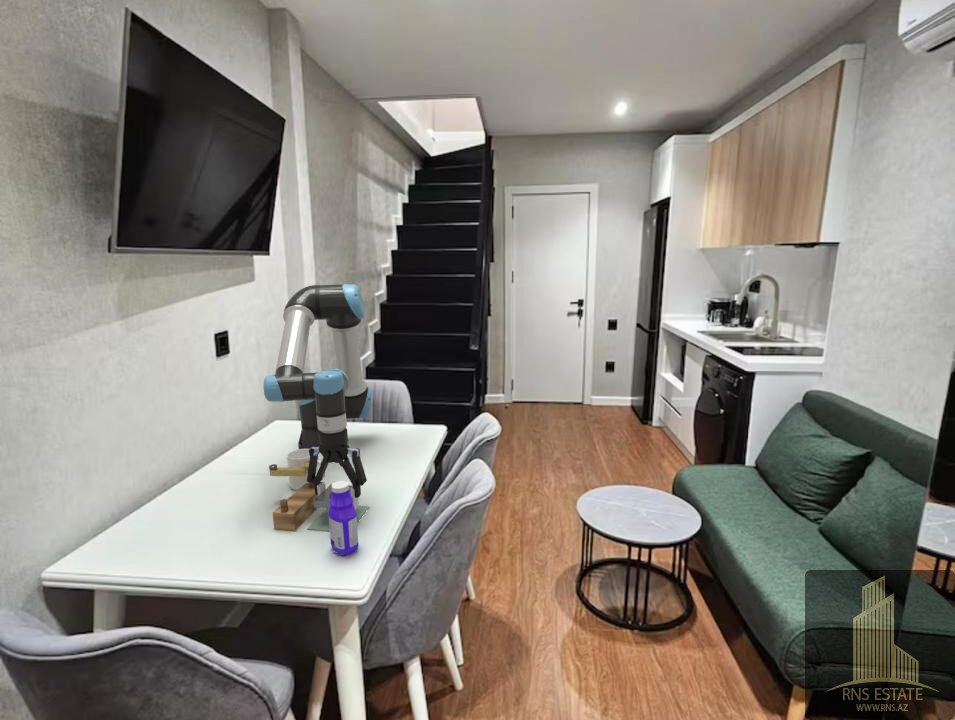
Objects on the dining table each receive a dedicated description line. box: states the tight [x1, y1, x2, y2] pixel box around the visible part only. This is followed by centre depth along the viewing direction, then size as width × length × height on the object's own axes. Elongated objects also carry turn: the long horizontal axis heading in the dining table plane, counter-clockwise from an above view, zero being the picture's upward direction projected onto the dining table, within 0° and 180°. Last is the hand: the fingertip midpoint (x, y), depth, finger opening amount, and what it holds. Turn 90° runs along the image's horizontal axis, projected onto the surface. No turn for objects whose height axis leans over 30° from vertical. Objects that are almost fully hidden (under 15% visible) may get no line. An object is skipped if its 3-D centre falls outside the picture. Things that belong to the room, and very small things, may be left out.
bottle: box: [328, 480, 359, 556], centre depth 122 cm, size 7×6×17 cm
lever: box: [268, 460, 310, 477], centre depth 147 cm, size 14×4×4 cm, turn 87°
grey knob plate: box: [314, 483, 362, 509], centre depth 137 cm, size 10×9×3 cm
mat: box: [307, 505, 371, 533], centre depth 139 cm, size 14×12×1 cm
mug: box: [286, 448, 326, 491], centre depth 158 cm, size 9×12×11 cm
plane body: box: [272, 469, 327, 532], centre depth 141 cm, size 18×6×11 cm, turn 170°
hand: (338, 506), depth 138 cm, fingers closed on grey knob plate, 9 cm apart
